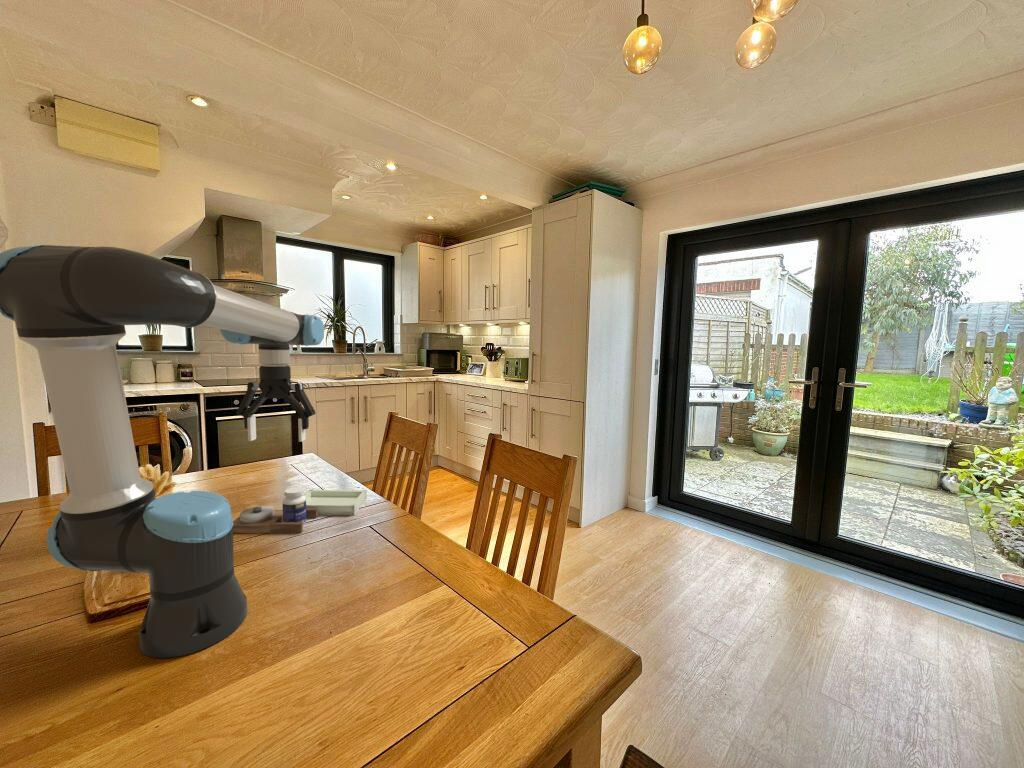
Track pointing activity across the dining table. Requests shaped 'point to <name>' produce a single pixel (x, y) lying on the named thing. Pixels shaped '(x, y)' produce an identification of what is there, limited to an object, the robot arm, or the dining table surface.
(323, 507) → the tray
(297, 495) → the pill bottle
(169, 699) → the dining table surface
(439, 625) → the dining table surface
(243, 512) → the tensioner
